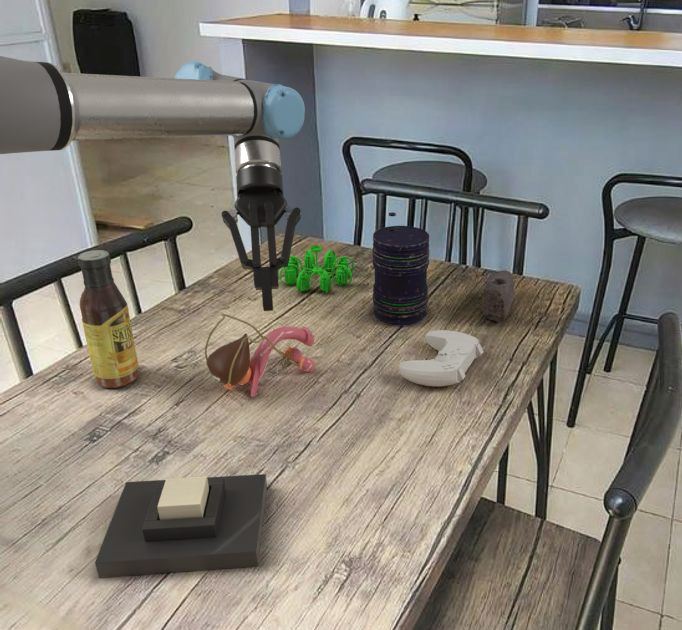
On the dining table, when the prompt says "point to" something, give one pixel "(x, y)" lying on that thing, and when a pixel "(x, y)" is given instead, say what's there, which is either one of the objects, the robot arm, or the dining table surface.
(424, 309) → the storage jar
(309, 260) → the chandelier
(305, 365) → the anatomy model
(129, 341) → the sauce bottle
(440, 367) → the game controller
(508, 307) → the perforated stone tool
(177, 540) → the stepped tiered pedestal
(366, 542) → the dining table surface
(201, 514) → the key
